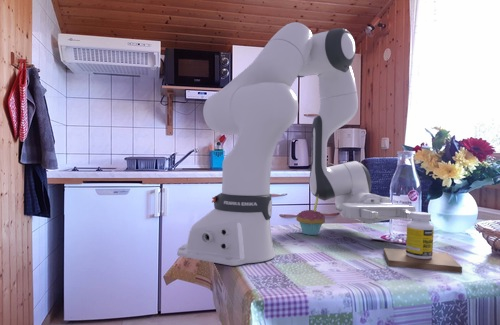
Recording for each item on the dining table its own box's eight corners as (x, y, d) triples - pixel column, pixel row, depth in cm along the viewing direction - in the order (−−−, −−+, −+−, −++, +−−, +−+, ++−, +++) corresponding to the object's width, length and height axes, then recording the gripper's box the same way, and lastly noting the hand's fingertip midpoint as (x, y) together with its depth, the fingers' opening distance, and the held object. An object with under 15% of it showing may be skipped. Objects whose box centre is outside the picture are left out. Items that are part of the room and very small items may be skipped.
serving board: (388, 265, 76) (388, 260, 76) (383, 252, 86) (383, 248, 86) (461, 272, 72) (462, 266, 72) (447, 258, 82) (447, 253, 82)
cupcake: (323, 231, 111) (324, 193, 111) (325, 237, 103) (327, 196, 102) (295, 229, 112) (297, 191, 112) (296, 235, 104) (297, 195, 103)
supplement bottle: (425, 261, 75) (426, 215, 75) (401, 255, 80) (402, 212, 80) (437, 257, 79) (438, 213, 78) (413, 251, 83) (414, 210, 83)
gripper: (333, 197, 102) (354, 203, 89) (398, 197, 105) (428, 203, 92) (333, 218, 103) (353, 228, 89) (398, 218, 106) (428, 227, 92)
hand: (392, 215), depth 90 cm, fingers open, 8 cm apart
